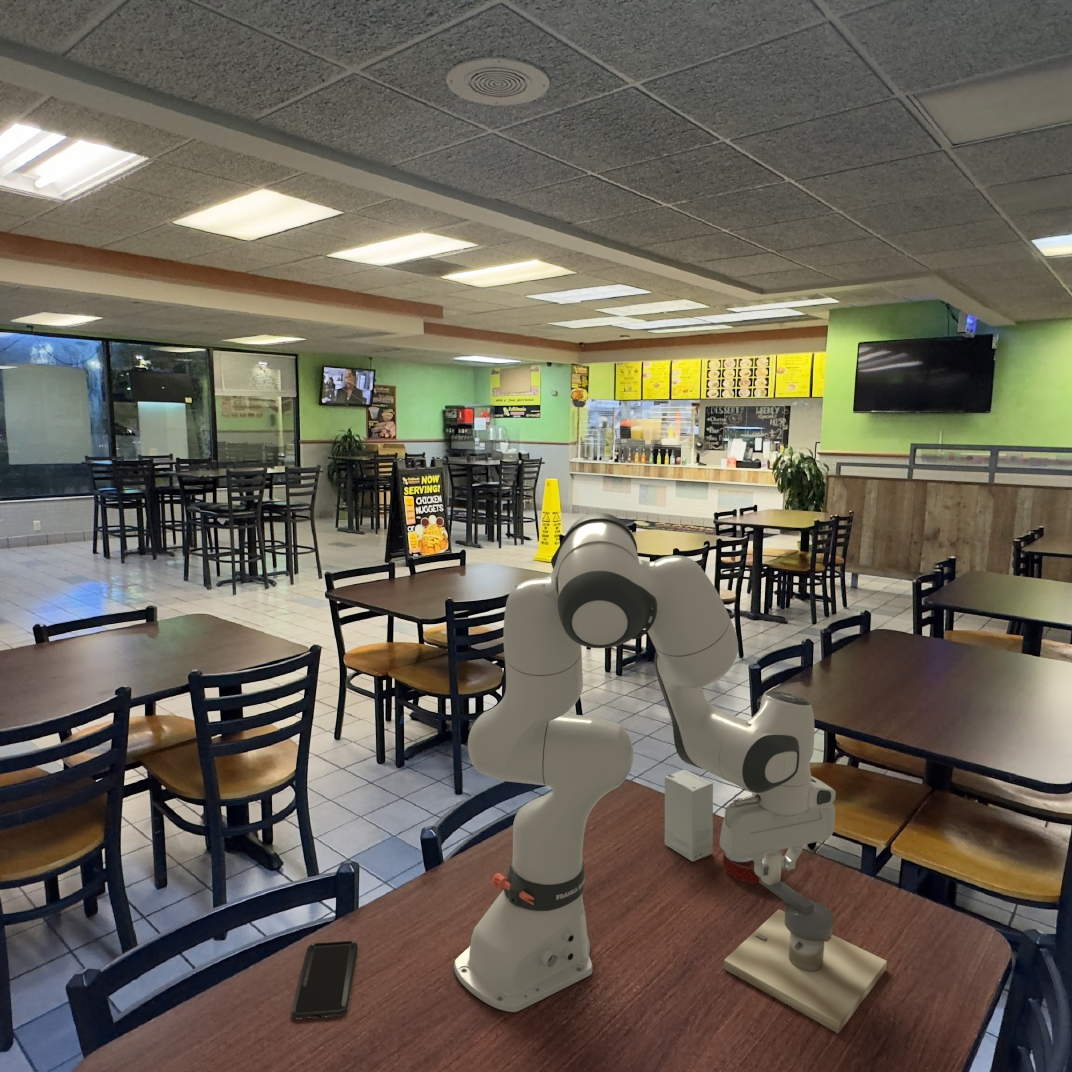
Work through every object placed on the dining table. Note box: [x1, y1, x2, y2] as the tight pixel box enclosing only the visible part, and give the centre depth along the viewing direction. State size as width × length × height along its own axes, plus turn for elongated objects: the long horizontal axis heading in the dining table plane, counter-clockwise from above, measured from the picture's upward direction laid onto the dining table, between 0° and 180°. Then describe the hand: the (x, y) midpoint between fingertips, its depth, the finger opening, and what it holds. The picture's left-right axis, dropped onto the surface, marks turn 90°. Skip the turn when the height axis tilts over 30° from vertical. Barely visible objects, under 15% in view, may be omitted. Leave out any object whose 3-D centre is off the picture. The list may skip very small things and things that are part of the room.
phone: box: [291, 940, 359, 1019], centre depth 115 cm, size 8×1×15 cm
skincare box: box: [664, 769, 714, 862], centre depth 151 cm, size 8×6×15 cm
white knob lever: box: [758, 850, 834, 941], centre depth 120 cm, size 7×13×8 cm, turn 29°
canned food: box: [722, 850, 762, 884], centre depth 145 cm, size 11×10×10 cm
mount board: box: [723, 909, 888, 1034], centre depth 118 cm, size 18×18×7 cm
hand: (774, 871), depth 124 cm, fingers open, 4 cm apart
